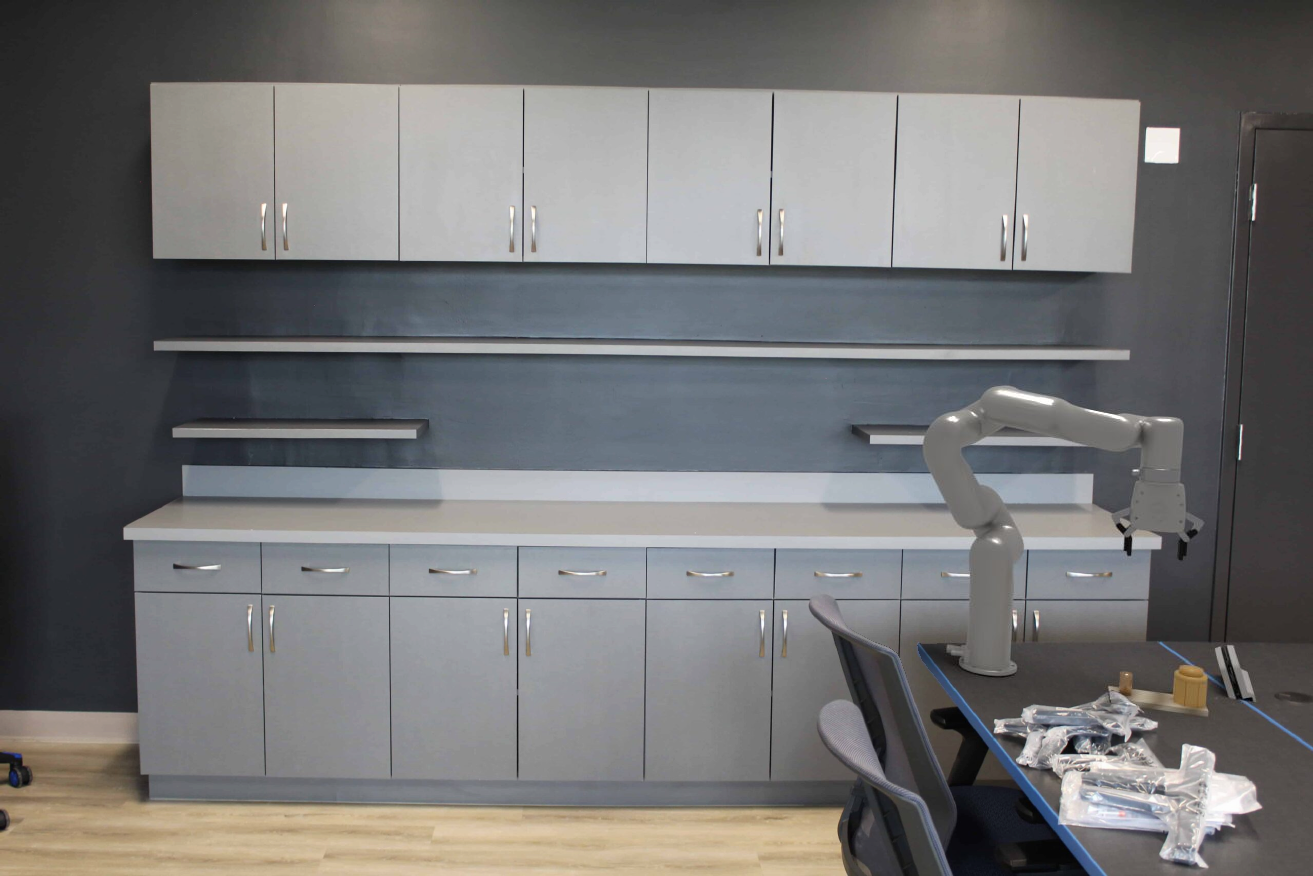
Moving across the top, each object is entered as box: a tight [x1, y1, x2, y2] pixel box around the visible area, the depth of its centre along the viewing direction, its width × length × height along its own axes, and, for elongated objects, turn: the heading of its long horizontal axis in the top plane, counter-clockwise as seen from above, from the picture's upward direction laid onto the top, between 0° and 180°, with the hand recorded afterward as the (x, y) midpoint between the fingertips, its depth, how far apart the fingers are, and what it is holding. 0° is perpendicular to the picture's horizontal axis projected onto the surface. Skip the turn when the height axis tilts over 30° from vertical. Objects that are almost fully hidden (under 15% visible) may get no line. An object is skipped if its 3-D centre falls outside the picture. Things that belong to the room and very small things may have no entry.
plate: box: [1107, 685, 1209, 717], centre depth 207 cm, size 18×8×1 cm, turn 69°
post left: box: [1118, 670, 1134, 696], centre depth 209 cm, size 2×2×4 cm
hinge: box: [1214, 644, 1257, 703], centre depth 217 cm, size 17×5×10 cm, turn 154°
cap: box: [1172, 664, 1209, 708], centre depth 205 cm, size 6×6×7 cm
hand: (1154, 557), depth 208 cm, fingers open, 9 cm apart
